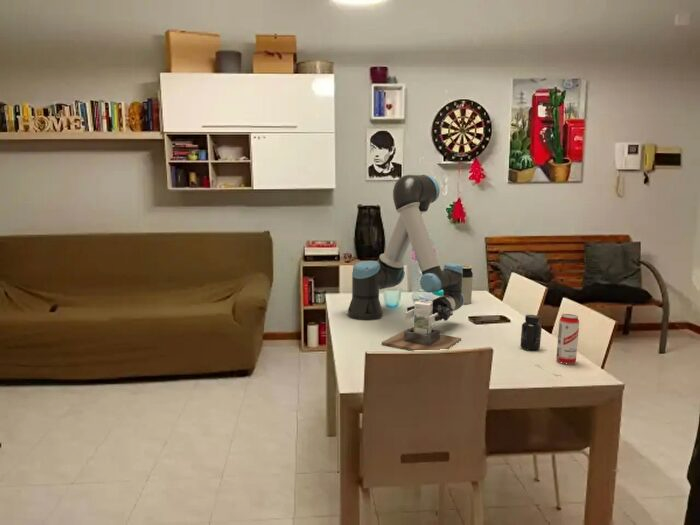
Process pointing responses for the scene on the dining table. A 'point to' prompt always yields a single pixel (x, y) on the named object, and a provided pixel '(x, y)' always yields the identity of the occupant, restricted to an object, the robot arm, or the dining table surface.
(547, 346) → the dining table surface
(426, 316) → the syrup box
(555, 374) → the butter knife
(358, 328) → the dining table surface
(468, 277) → the travel mug
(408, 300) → the dining table surface
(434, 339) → the collar board
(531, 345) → the supplement bottle
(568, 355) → the beer can
